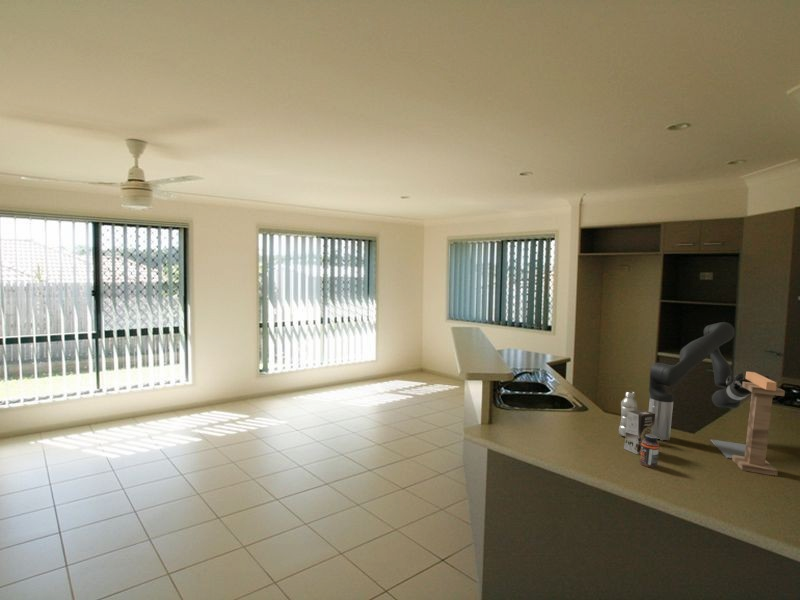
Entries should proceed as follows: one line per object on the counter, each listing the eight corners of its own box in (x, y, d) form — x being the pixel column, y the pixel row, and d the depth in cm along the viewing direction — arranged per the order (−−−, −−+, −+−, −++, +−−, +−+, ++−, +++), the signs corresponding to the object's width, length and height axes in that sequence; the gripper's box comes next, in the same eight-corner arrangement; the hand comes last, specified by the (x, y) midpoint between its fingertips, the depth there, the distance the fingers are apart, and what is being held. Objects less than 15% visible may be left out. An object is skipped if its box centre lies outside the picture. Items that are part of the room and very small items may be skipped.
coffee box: (637, 455, 185) (641, 415, 184) (623, 449, 191) (627, 410, 190) (652, 452, 189) (656, 413, 188) (637, 446, 195) (641, 408, 194)
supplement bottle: (636, 461, 178) (638, 432, 177) (650, 461, 179) (653, 433, 178) (645, 468, 172) (648, 438, 171) (660, 468, 173) (663, 438, 172)
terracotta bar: (775, 390, 170) (776, 382, 170) (766, 389, 171) (766, 381, 171) (754, 379, 189) (754, 372, 189) (745, 378, 190) (746, 371, 190)
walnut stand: (777, 476, 172) (787, 391, 170) (742, 470, 176) (751, 387, 174) (764, 464, 183) (773, 384, 180) (732, 459, 186) (740, 381, 184)
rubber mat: (768, 465, 183) (768, 463, 182) (727, 458, 187) (727, 457, 187) (747, 445, 203) (747, 444, 203) (710, 440, 208) (710, 439, 208)
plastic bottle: (636, 440, 202) (641, 395, 201) (620, 438, 204) (624, 393, 202) (632, 435, 209) (636, 391, 207) (616, 433, 210) (620, 389, 209)
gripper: (719, 378, 202) (733, 365, 189) (758, 382, 198) (775, 370, 184) (720, 395, 199) (734, 383, 185) (760, 399, 195) (777, 388, 181)
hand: (754, 376), depth 185 cm, fingers open, 8 cm apart
